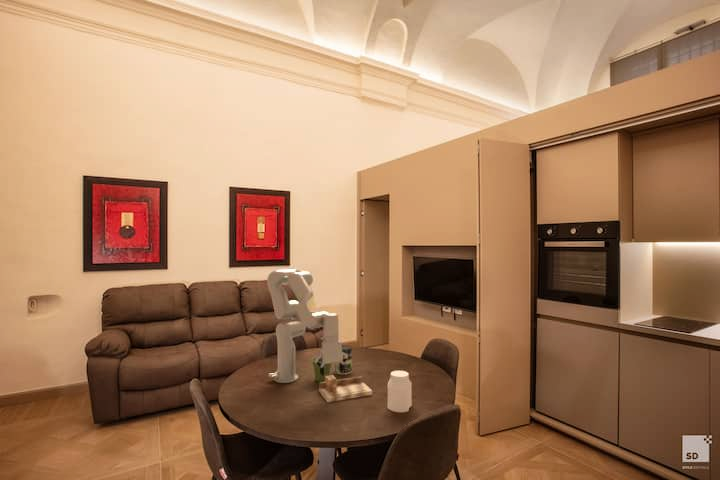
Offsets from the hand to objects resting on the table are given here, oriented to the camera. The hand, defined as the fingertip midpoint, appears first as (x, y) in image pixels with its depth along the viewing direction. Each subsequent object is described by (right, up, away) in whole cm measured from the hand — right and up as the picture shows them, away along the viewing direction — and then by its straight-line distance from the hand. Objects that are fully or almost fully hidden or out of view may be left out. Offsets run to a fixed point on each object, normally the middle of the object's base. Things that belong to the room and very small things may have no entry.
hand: (331, 373), depth 182 cm
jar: (+32, -10, -15) cm, 36 cm away
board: (+7, -10, +1) cm, 12 cm away
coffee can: (+4, -11, +32) cm, 34 cm away
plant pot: (-7, -11, +19) cm, 23 cm away
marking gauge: (0, -8, -2) cm, 8 cm away
